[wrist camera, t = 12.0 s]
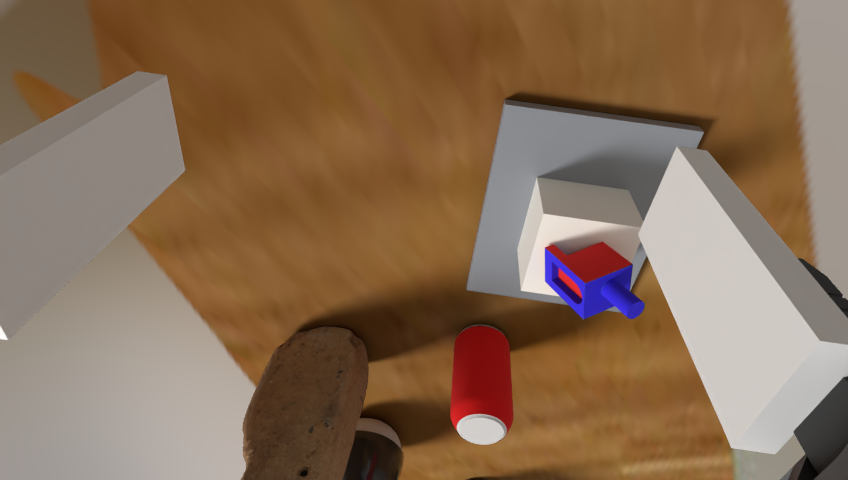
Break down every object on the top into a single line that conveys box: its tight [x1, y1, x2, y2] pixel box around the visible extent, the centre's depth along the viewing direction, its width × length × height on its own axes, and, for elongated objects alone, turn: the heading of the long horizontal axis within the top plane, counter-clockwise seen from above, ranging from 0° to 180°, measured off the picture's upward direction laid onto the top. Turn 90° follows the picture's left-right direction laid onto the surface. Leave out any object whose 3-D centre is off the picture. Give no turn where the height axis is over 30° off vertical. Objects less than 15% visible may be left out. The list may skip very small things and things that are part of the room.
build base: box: [467, 99, 704, 312], centre depth 44 cm, size 20×16×7 cm
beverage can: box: [450, 325, 513, 445], centre depth 53 cm, size 6×6×12 cm
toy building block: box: [545, 241, 645, 319], centre depth 38 cm, size 4×4×8 cm
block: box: [241, 326, 369, 480], centre depth 53 cm, size 11×8×20 cm
